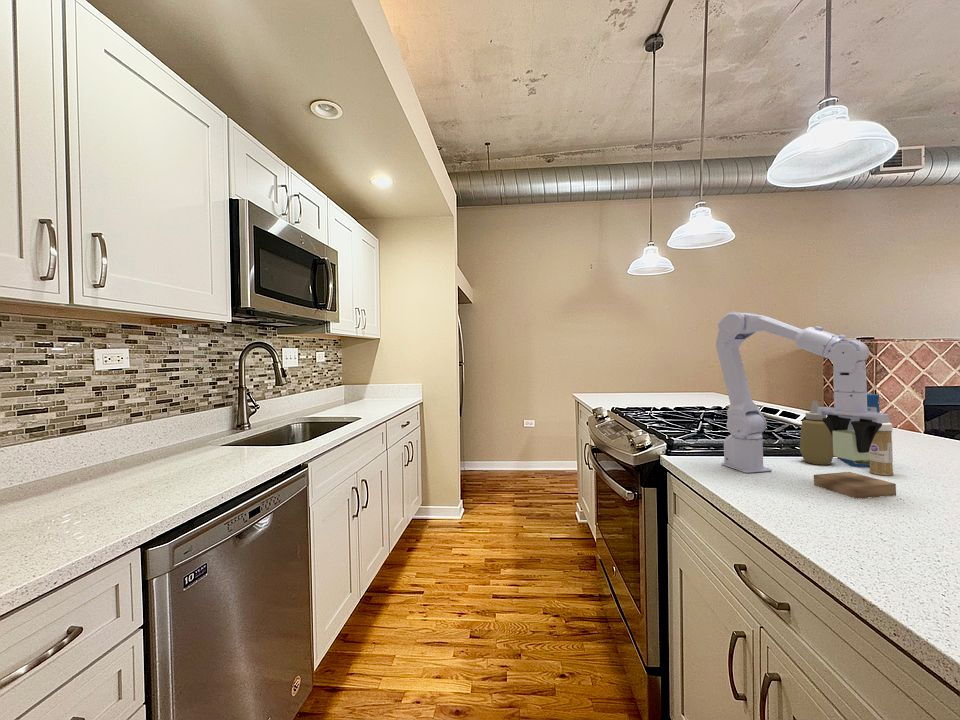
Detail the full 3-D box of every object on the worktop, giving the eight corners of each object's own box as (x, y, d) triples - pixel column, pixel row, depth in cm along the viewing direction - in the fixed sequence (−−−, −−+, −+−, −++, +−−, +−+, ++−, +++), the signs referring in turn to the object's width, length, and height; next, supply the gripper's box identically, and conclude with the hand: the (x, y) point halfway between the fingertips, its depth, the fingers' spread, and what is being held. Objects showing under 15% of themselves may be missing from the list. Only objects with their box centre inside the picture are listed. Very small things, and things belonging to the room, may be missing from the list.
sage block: (833, 456, 97) (832, 430, 97) (849, 454, 97) (849, 429, 97) (852, 460, 92) (851, 434, 92) (870, 459, 93) (869, 433, 93)
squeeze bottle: (793, 459, 123) (791, 399, 123) (822, 459, 122) (820, 399, 122) (811, 466, 115) (809, 402, 115) (843, 466, 114) (840, 402, 114)
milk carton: (881, 468, 111) (878, 394, 111) (852, 466, 113) (849, 394, 113) (863, 459, 120) (861, 391, 120) (837, 458, 122) (834, 391, 122)
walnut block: (814, 487, 99) (813, 474, 99) (849, 483, 100) (849, 471, 100) (857, 500, 89) (856, 487, 89) (896, 497, 90) (895, 483, 90)
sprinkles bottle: (865, 472, 107) (864, 421, 107) (874, 470, 109) (873, 420, 109) (888, 477, 103) (886, 424, 103) (897, 474, 105) (895, 422, 105)
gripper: (805, 390, 101) (807, 444, 101) (868, 394, 87) (870, 458, 87) (831, 388, 102) (832, 442, 102) (896, 393, 88) (898, 456, 88)
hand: (851, 449), depth 95 cm, fingers closed on sage block, 4 cm apart
